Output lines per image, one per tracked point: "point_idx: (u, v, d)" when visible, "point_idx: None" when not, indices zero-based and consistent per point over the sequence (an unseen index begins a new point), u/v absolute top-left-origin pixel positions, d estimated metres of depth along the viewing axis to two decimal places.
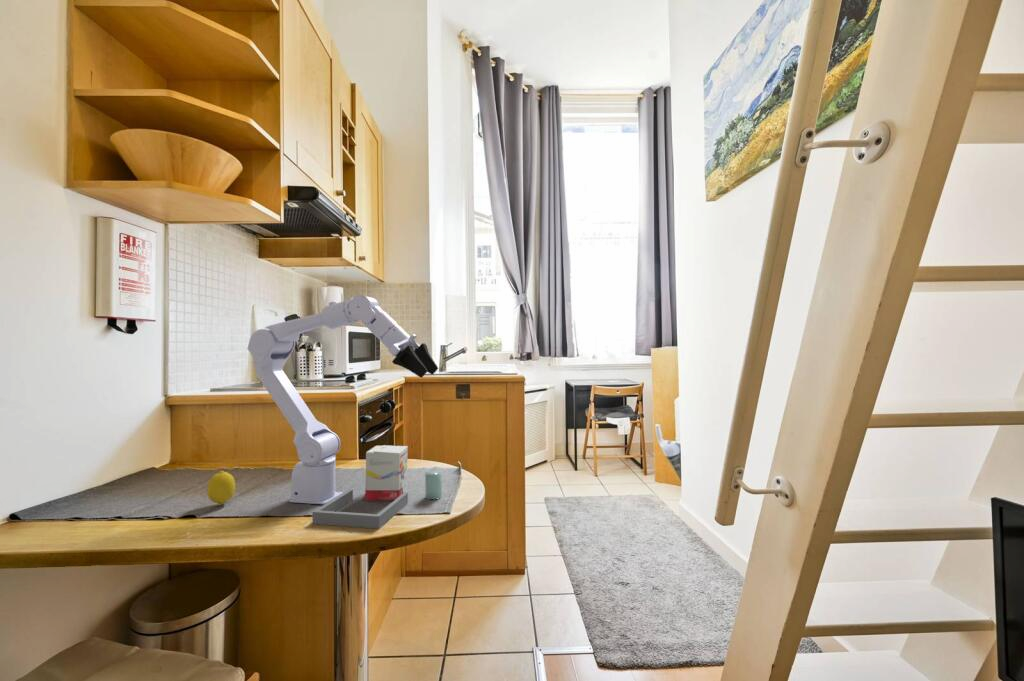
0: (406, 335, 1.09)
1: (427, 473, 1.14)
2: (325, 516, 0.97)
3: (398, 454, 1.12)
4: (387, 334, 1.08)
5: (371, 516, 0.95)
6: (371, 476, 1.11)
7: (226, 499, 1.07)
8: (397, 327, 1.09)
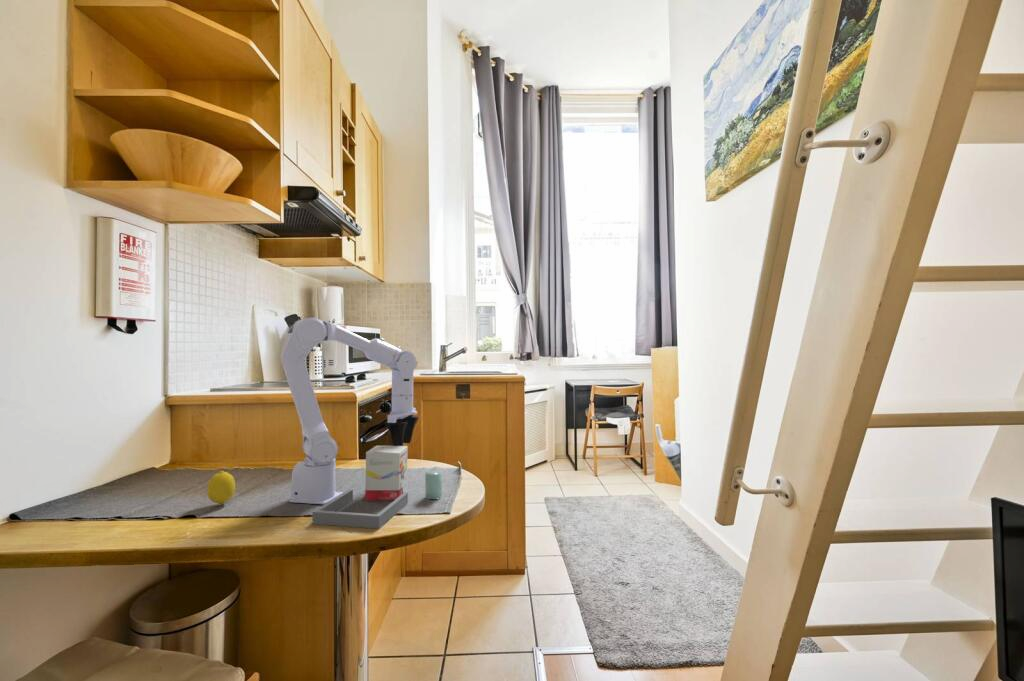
0: (410, 408, 1.24)
1: (427, 473, 1.14)
2: (325, 516, 0.97)
3: (398, 454, 1.12)
4: (399, 398, 1.22)
5: (371, 516, 0.95)
6: (371, 476, 1.11)
7: (226, 499, 1.07)
8: (410, 398, 1.24)
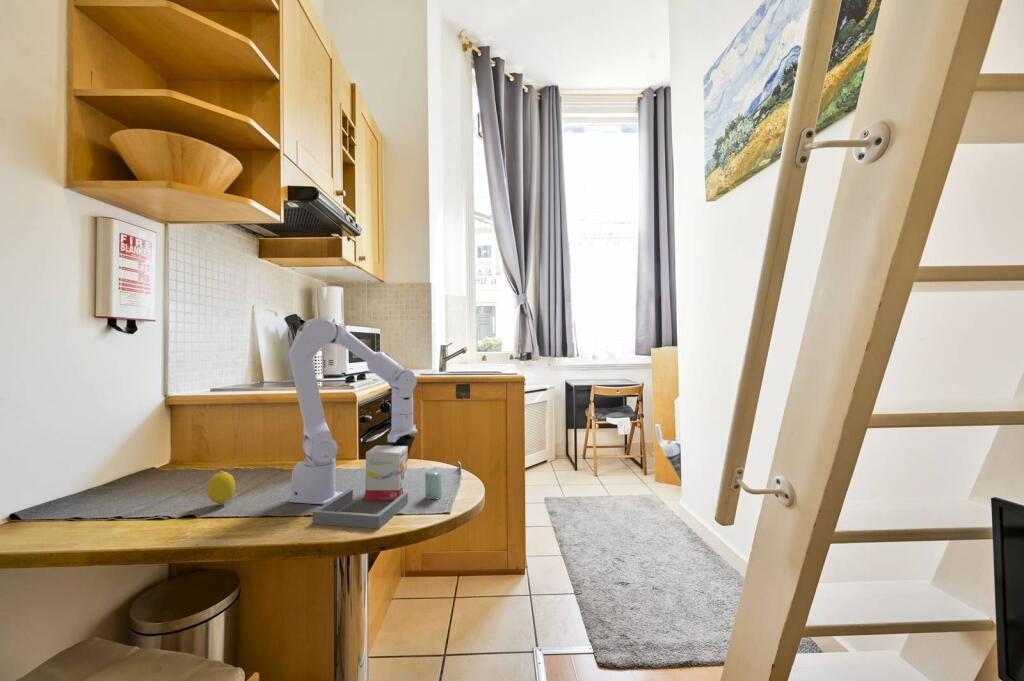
0: (410, 427, 1.24)
1: (427, 473, 1.14)
2: (325, 516, 0.97)
3: (398, 454, 1.12)
4: (399, 416, 1.22)
5: (371, 516, 0.95)
6: (371, 476, 1.11)
7: (226, 499, 1.07)
8: (410, 416, 1.24)
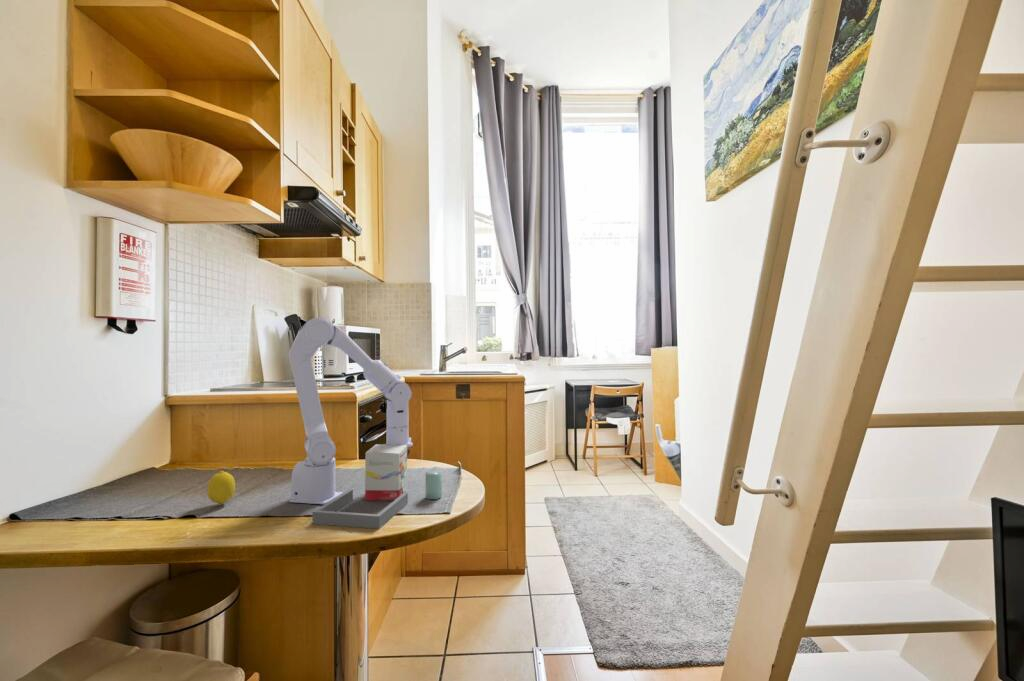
0: (406, 440, 1.21)
1: (427, 473, 1.14)
2: (325, 516, 0.97)
3: (397, 454, 1.11)
4: (394, 430, 1.19)
5: (371, 516, 0.95)
6: (370, 476, 1.11)
7: (226, 499, 1.07)
8: (405, 429, 1.20)
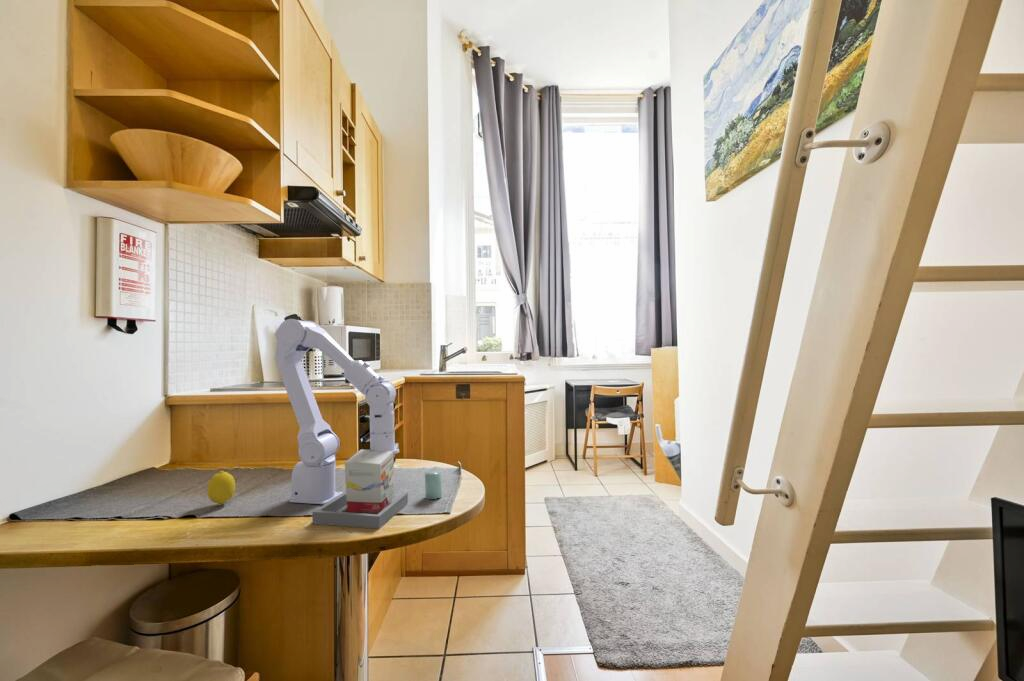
0: (391, 447, 1.11)
1: (427, 473, 1.14)
2: (325, 516, 0.97)
3: (378, 465, 1.02)
4: (378, 436, 1.09)
5: (371, 516, 0.95)
6: (351, 487, 1.03)
7: (226, 499, 1.07)
8: (390, 435, 1.11)
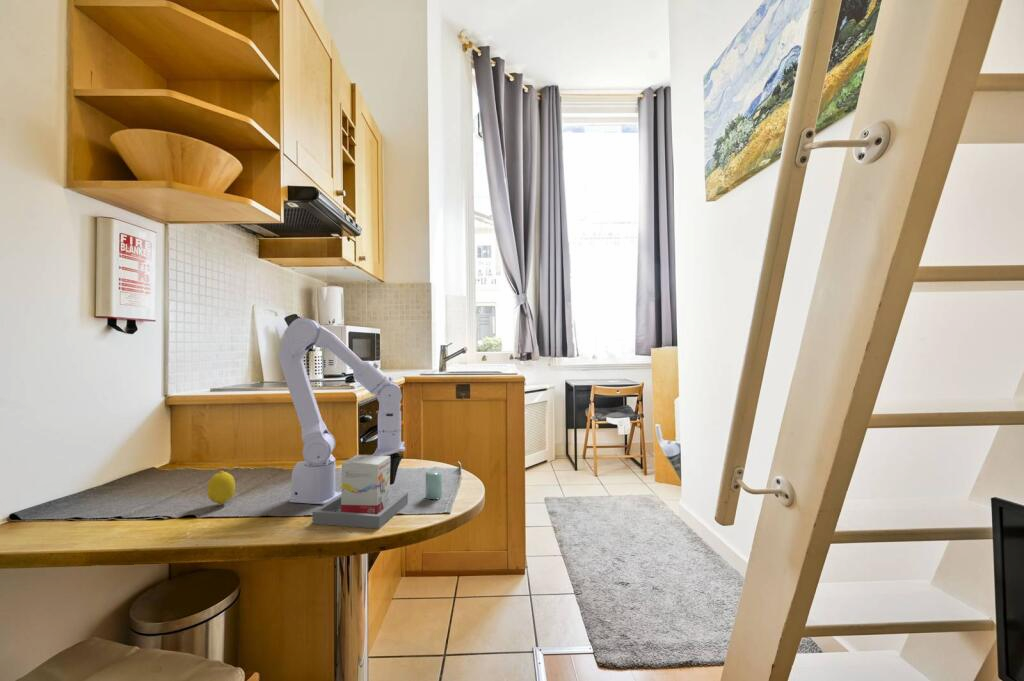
0: (398, 445, 1.16)
1: (427, 473, 1.13)
2: (325, 516, 0.97)
3: (376, 466, 1.01)
4: (385, 434, 1.14)
5: (371, 516, 0.95)
6: (347, 489, 1.01)
7: (226, 499, 1.07)
8: (397, 433, 1.15)
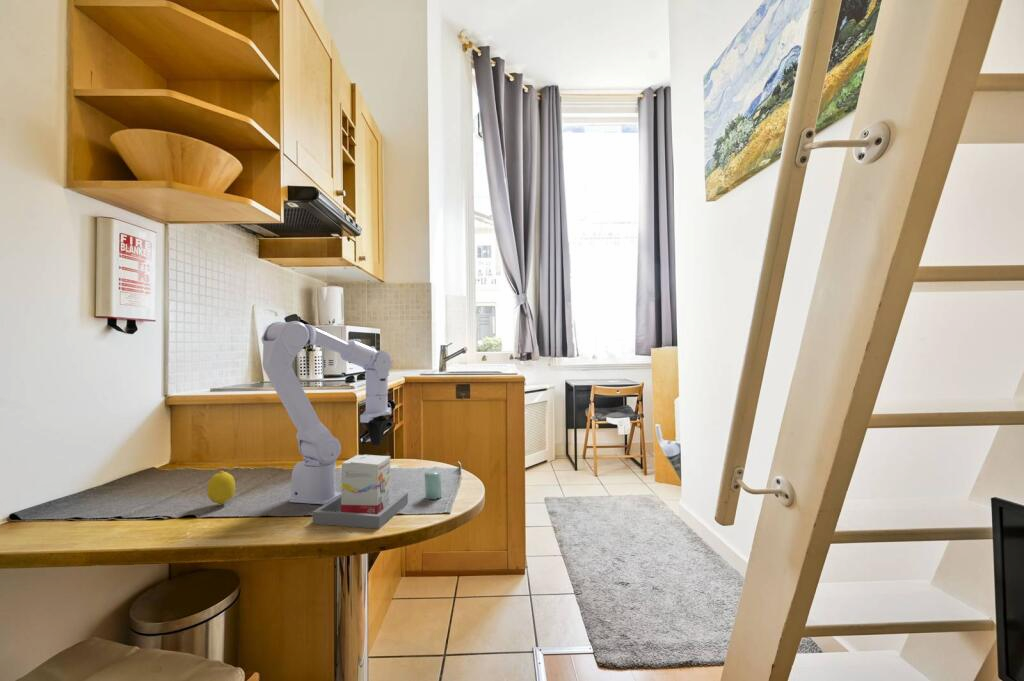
0: (384, 408, 1.24)
1: (426, 473, 1.14)
2: (325, 516, 0.97)
3: (376, 466, 1.01)
4: (372, 398, 1.22)
5: (371, 516, 0.95)
6: (347, 489, 1.01)
7: (226, 499, 1.07)
8: (384, 397, 1.24)
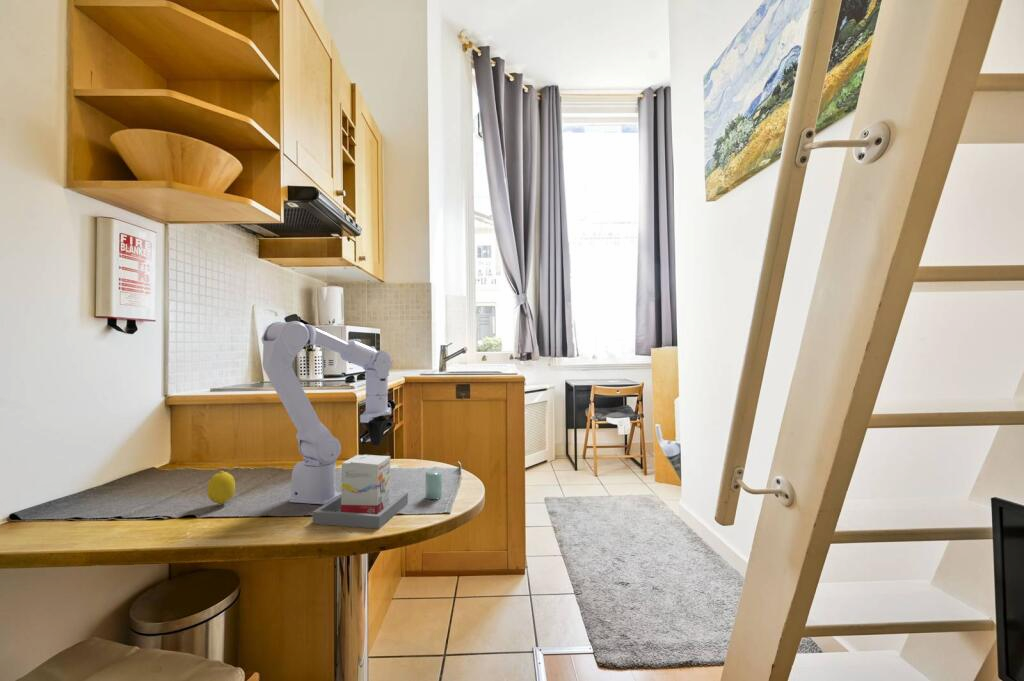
0: (384, 408, 1.24)
1: (428, 473, 1.13)
2: (325, 516, 0.97)
3: (376, 466, 1.01)
4: (372, 398, 1.22)
5: (371, 516, 0.95)
6: (347, 489, 1.01)
7: (226, 499, 1.07)
8: (384, 397, 1.24)
